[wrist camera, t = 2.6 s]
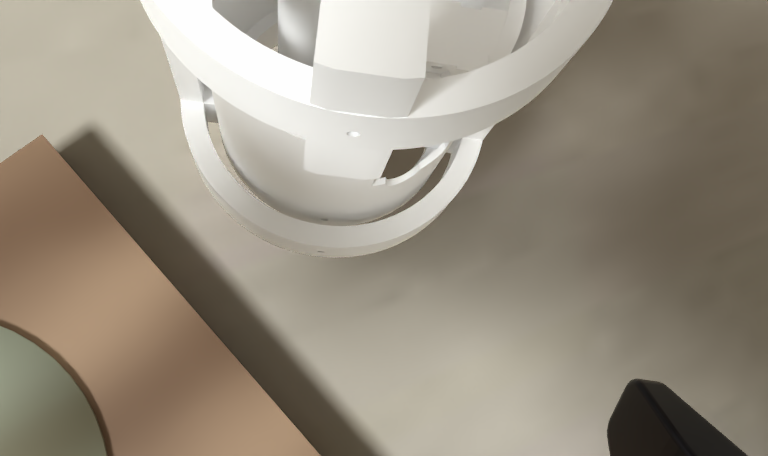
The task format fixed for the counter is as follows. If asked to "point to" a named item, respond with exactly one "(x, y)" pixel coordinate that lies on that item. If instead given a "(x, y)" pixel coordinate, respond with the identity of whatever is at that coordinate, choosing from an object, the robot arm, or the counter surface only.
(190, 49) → the white tall rounded piece
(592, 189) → the counter surface
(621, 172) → the counter surface
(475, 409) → the counter surface
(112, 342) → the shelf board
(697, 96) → the counter surface
